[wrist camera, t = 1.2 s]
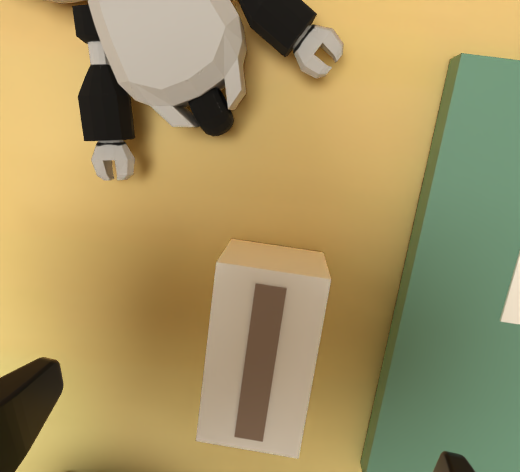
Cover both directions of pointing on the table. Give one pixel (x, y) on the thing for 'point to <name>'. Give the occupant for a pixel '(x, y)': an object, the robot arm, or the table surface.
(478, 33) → the table surface
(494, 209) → the board
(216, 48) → the robot toy
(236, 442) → the block
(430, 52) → the table surface
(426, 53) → the table surface
